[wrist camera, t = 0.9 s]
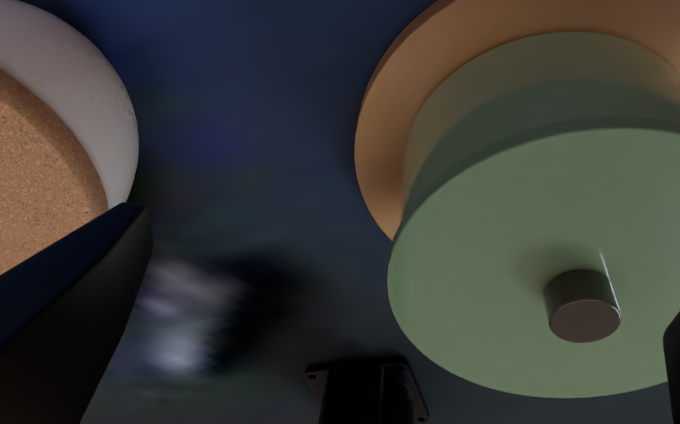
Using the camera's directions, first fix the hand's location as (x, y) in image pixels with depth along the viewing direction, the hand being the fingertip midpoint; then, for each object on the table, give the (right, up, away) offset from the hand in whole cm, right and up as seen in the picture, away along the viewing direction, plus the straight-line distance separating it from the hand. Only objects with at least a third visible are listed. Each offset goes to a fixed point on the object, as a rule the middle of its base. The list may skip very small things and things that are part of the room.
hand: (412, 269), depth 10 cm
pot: (+11, +3, +12) cm, 16 cm away
